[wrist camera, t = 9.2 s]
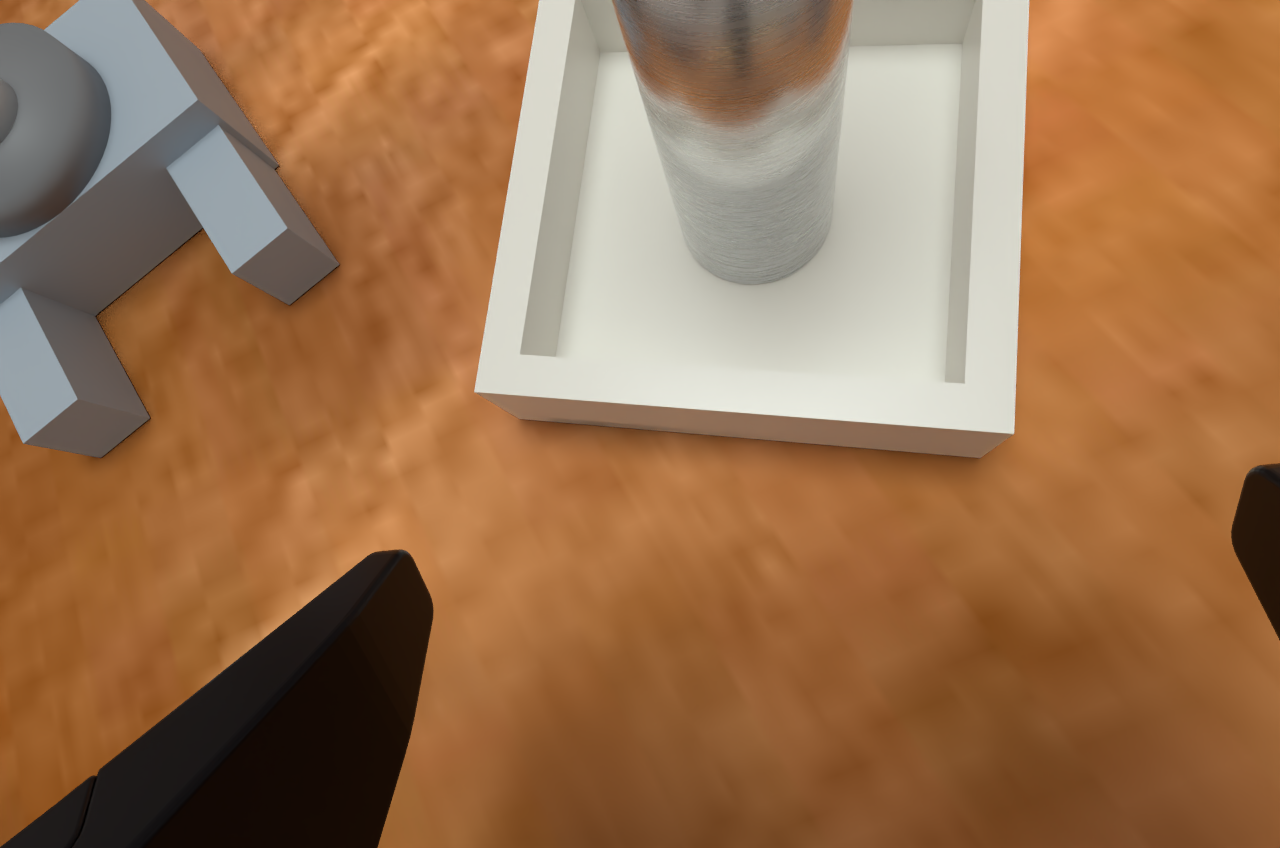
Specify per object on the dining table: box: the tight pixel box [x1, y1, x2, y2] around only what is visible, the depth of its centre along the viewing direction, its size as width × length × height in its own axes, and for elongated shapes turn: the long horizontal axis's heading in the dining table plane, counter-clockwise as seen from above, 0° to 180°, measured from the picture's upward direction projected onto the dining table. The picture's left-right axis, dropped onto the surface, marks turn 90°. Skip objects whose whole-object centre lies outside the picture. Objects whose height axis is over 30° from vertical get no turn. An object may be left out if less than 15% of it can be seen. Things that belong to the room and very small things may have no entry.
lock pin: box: [612, 0, 854, 284], centre depth 14 cm, size 5×5×14 cm
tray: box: [474, 0, 1029, 458], centre depth 20 cm, size 12×12×3 cm
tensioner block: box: [0, 0, 339, 458], centre depth 23 cm, size 10×10×6 cm
